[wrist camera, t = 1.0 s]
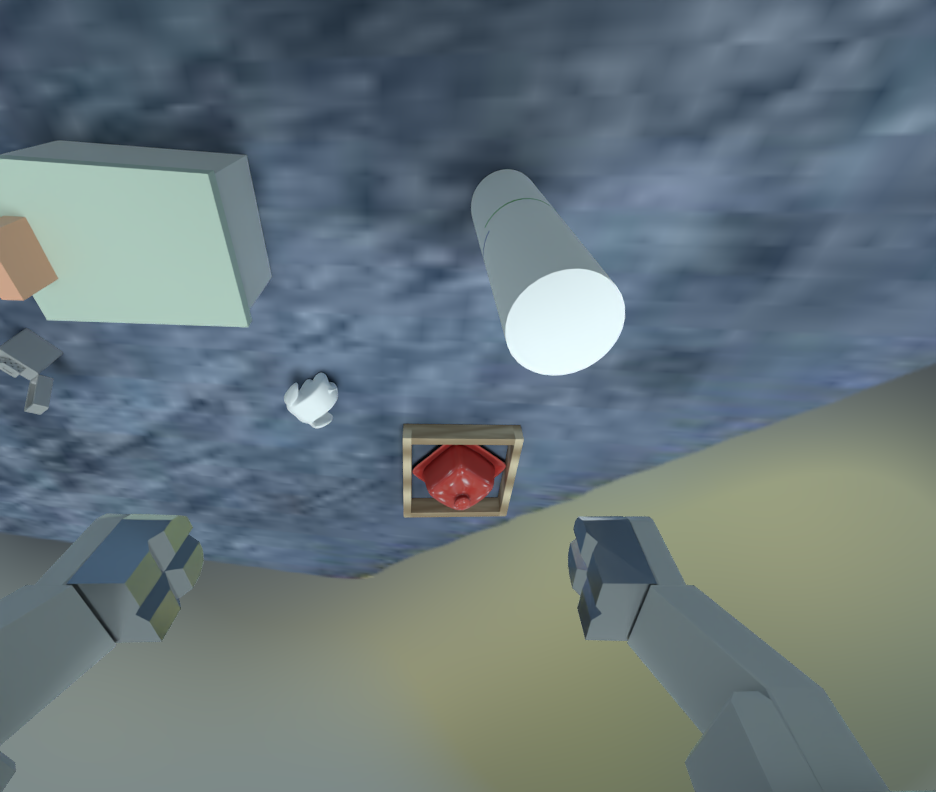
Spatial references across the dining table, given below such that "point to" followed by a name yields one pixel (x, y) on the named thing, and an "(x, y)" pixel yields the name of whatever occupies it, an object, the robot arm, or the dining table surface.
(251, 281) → the parts tub
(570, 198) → the dining table surface
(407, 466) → the wooden frame
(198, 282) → the lid
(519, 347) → the cylindrical container
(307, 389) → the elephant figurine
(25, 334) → the lighter
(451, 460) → the butter dish
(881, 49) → the dining table surface
